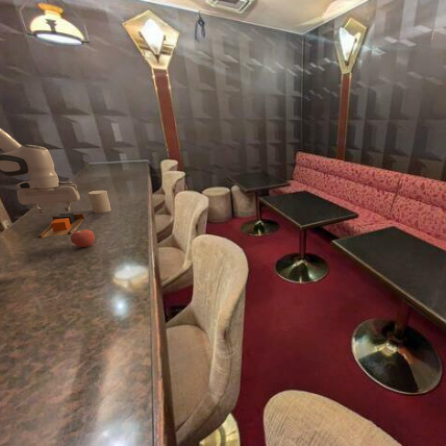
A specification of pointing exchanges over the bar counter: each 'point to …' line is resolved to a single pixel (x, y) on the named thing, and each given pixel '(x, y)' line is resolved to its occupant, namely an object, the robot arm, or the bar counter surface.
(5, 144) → the robot arm
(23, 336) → the bar counter surface
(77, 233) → the apple
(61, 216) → the black block
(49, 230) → the jig
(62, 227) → the orange block
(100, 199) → the cup
